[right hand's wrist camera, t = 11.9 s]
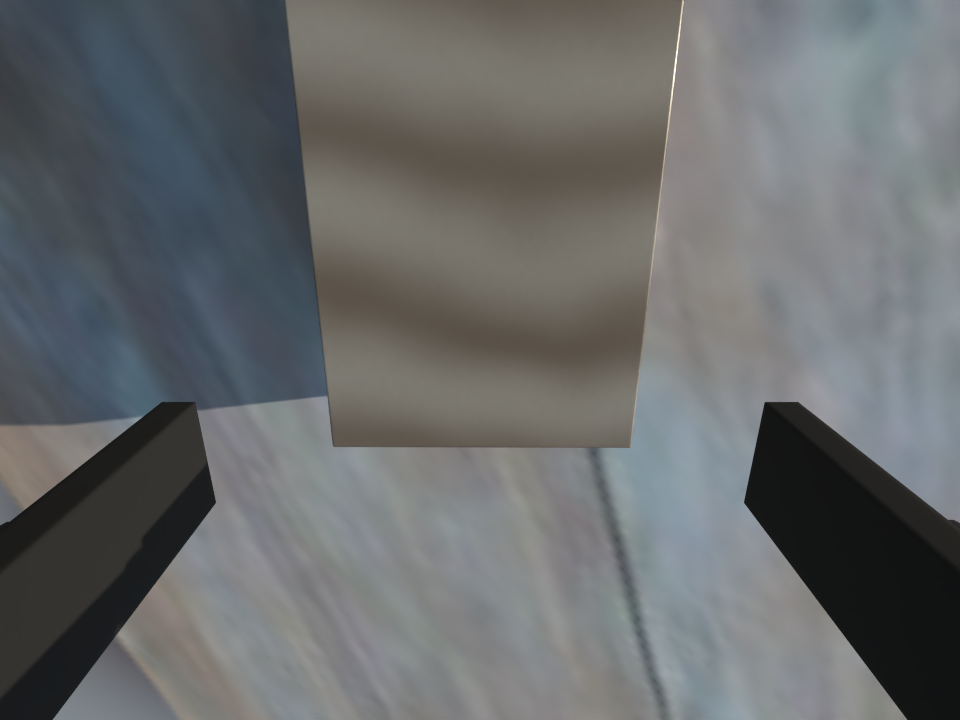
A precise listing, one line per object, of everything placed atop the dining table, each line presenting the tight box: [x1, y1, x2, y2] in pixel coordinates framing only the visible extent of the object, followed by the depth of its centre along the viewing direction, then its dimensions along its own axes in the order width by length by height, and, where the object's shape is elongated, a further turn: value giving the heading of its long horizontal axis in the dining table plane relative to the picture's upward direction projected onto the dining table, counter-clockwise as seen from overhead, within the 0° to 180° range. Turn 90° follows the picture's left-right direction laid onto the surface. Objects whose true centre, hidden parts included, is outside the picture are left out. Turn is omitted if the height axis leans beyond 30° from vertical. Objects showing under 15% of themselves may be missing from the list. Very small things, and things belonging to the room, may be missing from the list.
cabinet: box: [284, 0, 684, 448], centre depth 20 cm, size 21×11×8 cm, turn 0°
